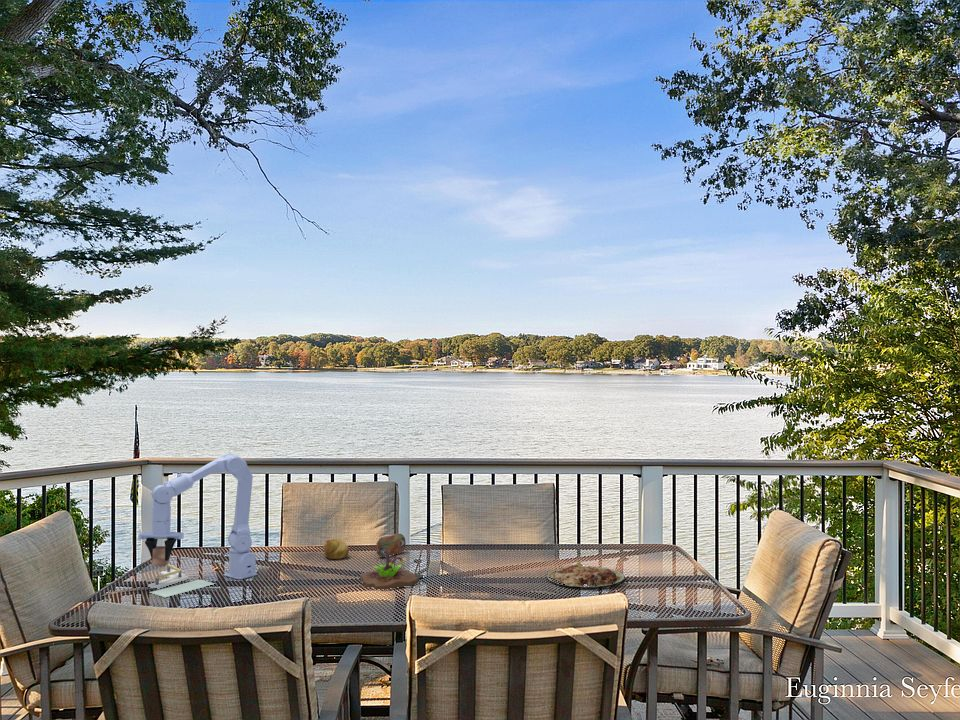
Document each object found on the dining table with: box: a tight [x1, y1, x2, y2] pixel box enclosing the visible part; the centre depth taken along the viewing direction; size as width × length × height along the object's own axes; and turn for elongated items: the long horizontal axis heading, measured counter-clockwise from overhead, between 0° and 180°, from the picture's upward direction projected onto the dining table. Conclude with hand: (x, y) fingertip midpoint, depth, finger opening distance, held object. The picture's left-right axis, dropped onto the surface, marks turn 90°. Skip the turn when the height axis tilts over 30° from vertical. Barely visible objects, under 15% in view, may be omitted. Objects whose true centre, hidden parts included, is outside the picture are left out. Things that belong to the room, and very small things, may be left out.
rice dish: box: [546, 562, 626, 589], centre depth 259 cm, size 28×28×5 cm
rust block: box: [151, 545, 170, 568], centre depth 246 cm, size 4×4×6 cm
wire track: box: [147, 563, 190, 590], centre depth 253 cm, size 17×17×4 cm
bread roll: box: [323, 538, 350, 560], centre depth 289 cm, size 13×10×8 cm
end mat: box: [149, 579, 216, 599], centre depth 243 cm, size 9×19×1 cm, turn 146°
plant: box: [359, 550, 419, 589], centre depth 254 cm, size 20×20×11 cm
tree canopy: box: [375, 533, 407, 558], centre depth 293 cm, size 15×3×8 cm, turn 143°
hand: (160, 560), depth 246 cm, fingers closed on rust block, 4 cm apart
